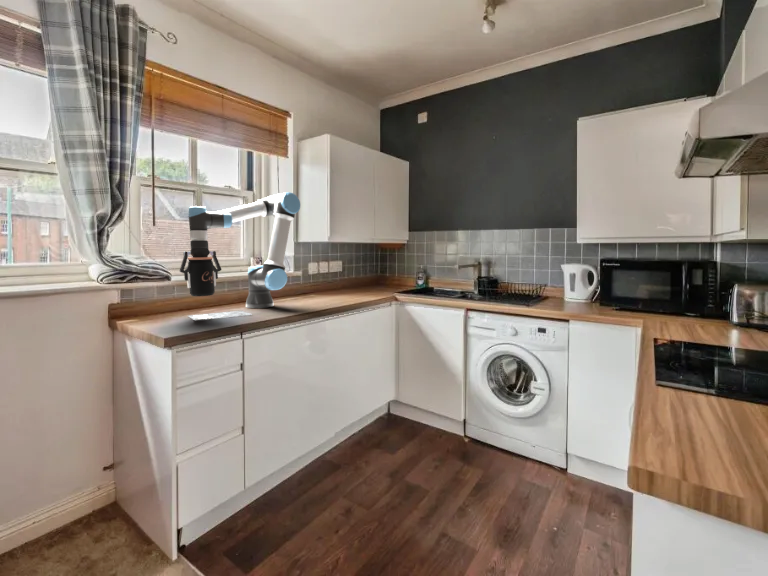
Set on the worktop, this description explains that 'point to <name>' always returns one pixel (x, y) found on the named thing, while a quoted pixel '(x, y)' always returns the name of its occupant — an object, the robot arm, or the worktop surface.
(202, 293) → the coffee jar
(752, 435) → the worktop surface
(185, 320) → the worktop surface
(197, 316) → the label board
